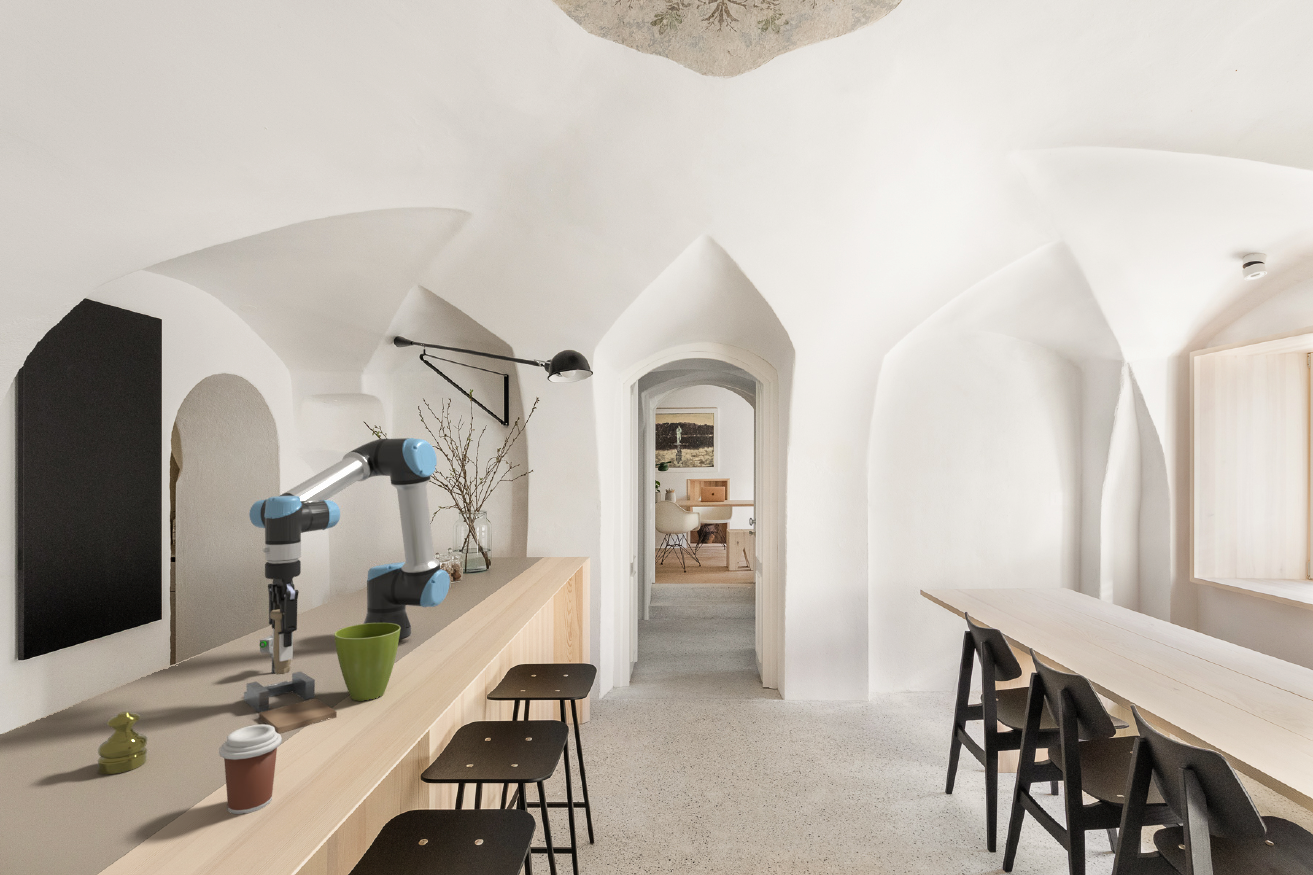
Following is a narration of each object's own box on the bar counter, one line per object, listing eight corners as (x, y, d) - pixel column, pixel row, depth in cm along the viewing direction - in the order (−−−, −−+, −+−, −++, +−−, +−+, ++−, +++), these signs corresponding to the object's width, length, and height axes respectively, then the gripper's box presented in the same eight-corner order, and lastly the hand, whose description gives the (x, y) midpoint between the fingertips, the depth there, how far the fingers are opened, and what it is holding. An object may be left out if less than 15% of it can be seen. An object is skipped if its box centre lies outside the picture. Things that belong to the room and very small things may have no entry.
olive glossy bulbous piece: (141, 753, 131) (142, 702, 131) (152, 764, 126) (153, 711, 126) (93, 767, 125) (94, 713, 125) (102, 779, 120) (103, 724, 121)
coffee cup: (291, 789, 117) (292, 721, 117) (262, 818, 108) (263, 743, 108) (238, 790, 117) (239, 721, 117) (205, 818, 108) (206, 744, 108)
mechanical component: (292, 666, 184) (292, 630, 184) (267, 679, 173) (267, 640, 174) (282, 666, 184) (282, 630, 184) (256, 678, 174) (257, 640, 174)
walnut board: (315, 703, 157) (315, 698, 157) (336, 717, 149) (336, 711, 149) (259, 718, 148) (259, 712, 148) (278, 733, 140) (278, 727, 140)
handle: (265, 677, 156) (266, 614, 156) (277, 668, 162) (277, 607, 162) (287, 676, 156) (288, 613, 156) (298, 667, 163) (298, 606, 163)
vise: (294, 685, 169) (294, 667, 169) (314, 698, 160) (314, 679, 160) (241, 698, 160) (241, 679, 160) (259, 712, 151) (259, 692, 151)
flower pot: (319, 700, 159) (320, 633, 159) (371, 681, 172) (372, 619, 172) (361, 711, 152) (362, 641, 152) (412, 691, 165) (413, 626, 166)
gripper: (253, 558, 162) (253, 653, 162) (278, 566, 151) (277, 669, 151) (287, 554, 168) (286, 646, 168) (313, 562, 156) (312, 661, 156)
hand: (282, 657), depth 159 cm, fingers closed on handle, 4 cm apart
